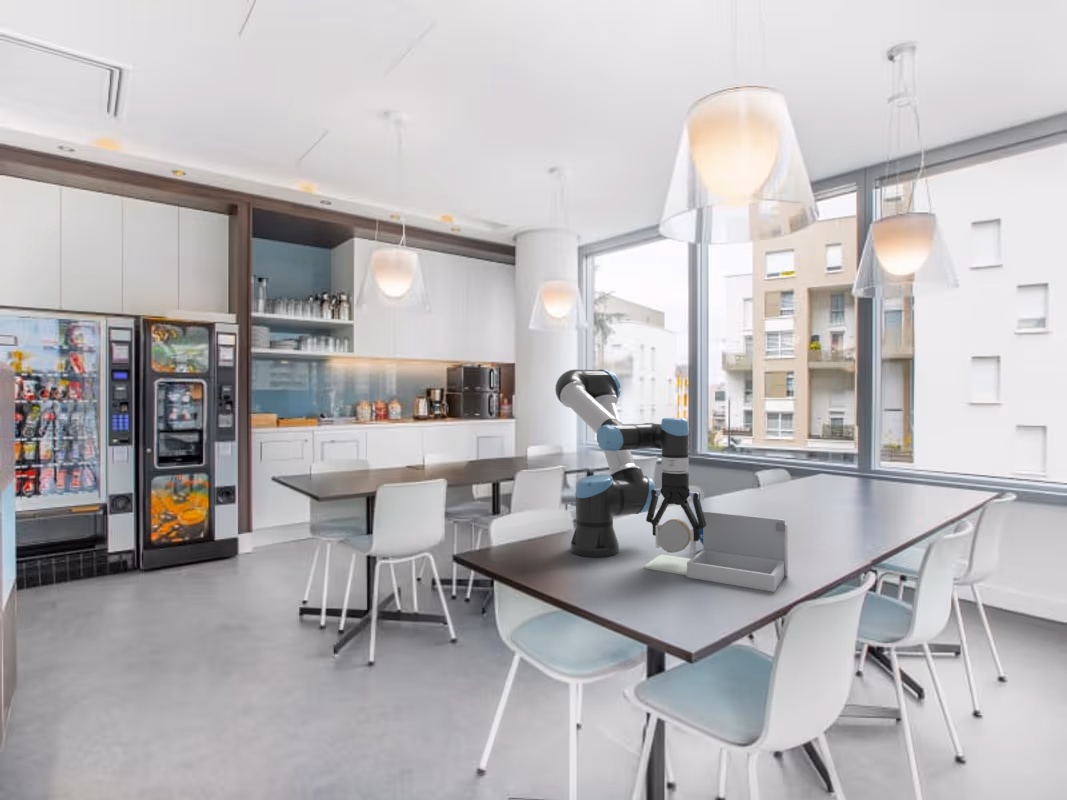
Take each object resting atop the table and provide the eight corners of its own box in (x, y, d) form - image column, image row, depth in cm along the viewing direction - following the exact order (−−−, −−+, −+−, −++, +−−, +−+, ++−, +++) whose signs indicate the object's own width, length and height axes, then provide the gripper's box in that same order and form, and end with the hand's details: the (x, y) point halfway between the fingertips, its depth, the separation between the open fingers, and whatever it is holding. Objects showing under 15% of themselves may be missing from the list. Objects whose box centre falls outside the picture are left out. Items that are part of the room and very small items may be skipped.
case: (686, 577, 153) (686, 521, 153) (704, 562, 166) (703, 511, 166) (777, 592, 141) (777, 532, 141) (788, 575, 154) (788, 519, 154)
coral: (649, 529, 160) (660, 509, 168) (657, 558, 163) (667, 537, 171) (683, 530, 155) (692, 509, 163) (690, 561, 158) (699, 539, 166)
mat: (643, 568, 161) (643, 566, 161) (661, 556, 173) (661, 554, 173) (692, 576, 154) (692, 574, 154) (707, 563, 166) (707, 561, 166)
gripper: (633, 470, 166) (634, 547, 166) (710, 475, 154) (710, 558, 154) (643, 467, 173) (644, 541, 173) (717, 472, 161) (718, 551, 161)
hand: (675, 549), depth 164 cm, fingers closed on coral, 9 cm apart
